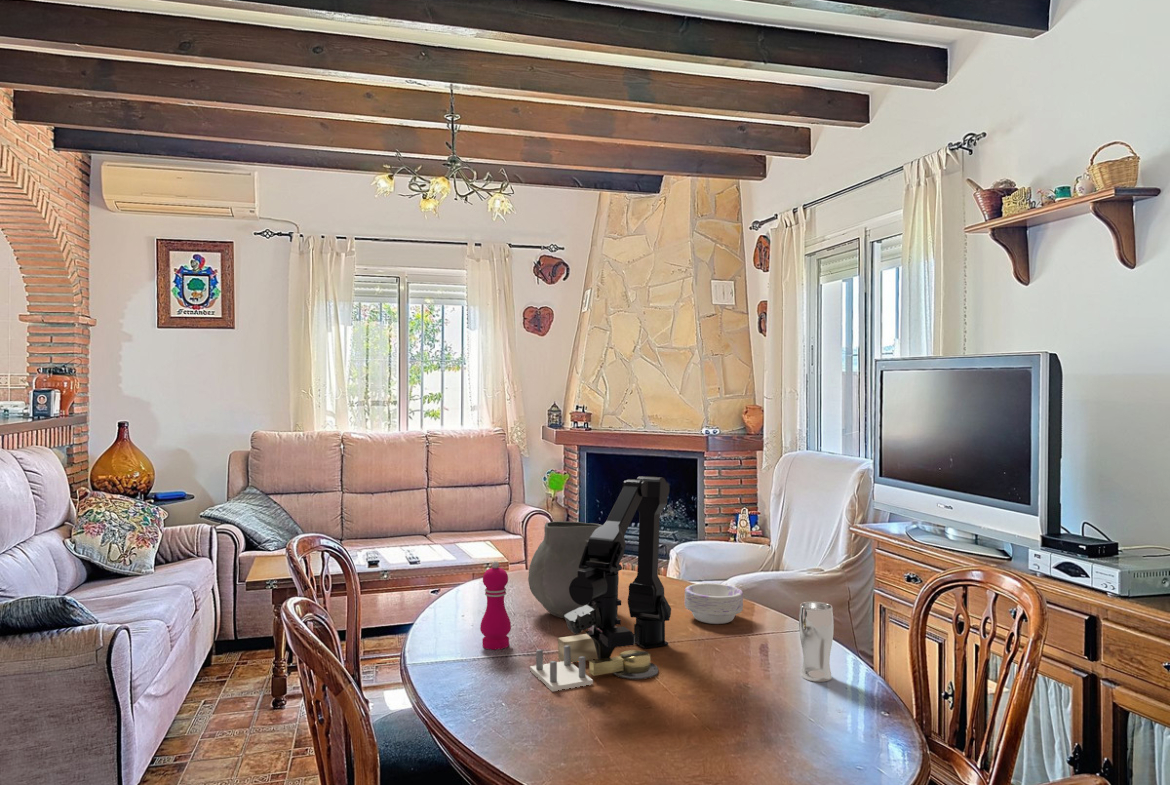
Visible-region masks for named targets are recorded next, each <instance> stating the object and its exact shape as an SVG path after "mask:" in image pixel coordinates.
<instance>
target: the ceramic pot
mask: <svg viewBox="0 0 1170 785" xmlns="http://www.w3.org/2000/svg"><path fill="white" fill-rule="evenodd" d="M602 525H603V524H599V523H594V522H590V523H587V522H582V521H568V520H567V521H564V520H563V521H561V520H560V521H547V522H545V524H544V535H543V540H542V542H540V544H539V546H537V549H536V550H535V552H534V554H533V556H532V558H531V560H530V563H529V567H528V578H527V580H528V586H529V587H528V588H529V590H530V592H531V594H532V595H533V596H534V598H535V599H536V601H538V602H539V603H540V604H541V605H542V606H543V608H544V609H545V610H546V611H547V612H548V613H550V615H553V616H555V617H557V618H562V619H565V617H564V615H565V614H567V613H569V612H571V611H573V610H575V609H577V608H579V607H583V606H585V605H579V604H577V603H576V602H574V601H573V600H572V598H571V596H570V593H569V586H570V584H571V582H572V580H573V579H574V578H576V577H578V571H579V570H584V569H579V564H580V561H581V558H582V555H583V552H584V549H585V546H586V543H587V541H588V539H589V538H590V536H591V535H592V533H593V532H594V531H595V529H597V528H598V527H600V526H602ZM589 562H595V561H591V560H590V561H589ZM598 563H603V562H598ZM619 578H620V577H619V575H618V583H619Z"/></svg>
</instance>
